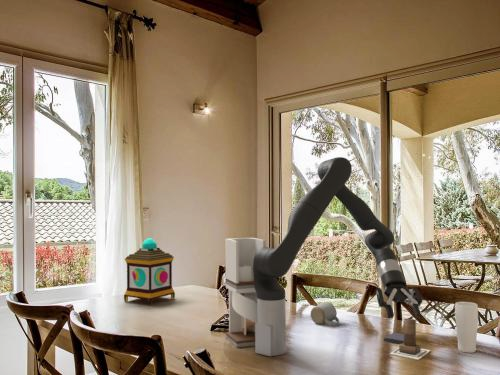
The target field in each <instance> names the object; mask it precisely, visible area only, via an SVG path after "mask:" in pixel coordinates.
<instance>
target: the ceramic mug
mask: <svg viewBox="0 0 500 375" xmlns="http://www.w3.org/2000/svg"><path fill="white" fill-rule="evenodd" d="M337 313H338V312H337V308H336V307H335V306H334V304H333V303H331V302H330V301H324V302H321V303H320V304H317V305H315V306H314V307H312V308H311V310H310V317H311V320H312V321H313V322H314V323H315V324H317V325H325V324H327V325H329V326H330V327H336V326H338V325H339V323H340V320H339V317H338V316H337ZM334 321H336V322H334Z"/></svg>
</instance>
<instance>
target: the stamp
mask: <svg viewBox="0 0 500 375" xmlns="http://www.w3.org/2000/svg"><path fill="white" fill-rule="evenodd" d="M416 324H417V321H416V319H414V318H404V319H403V334H404V343H402V344H398V348H399V352H401V353H406V354H411V355H416V354H418V353H419V352H420V351H421V349H422V348H421V347H422V346H421V343H417V336H416V335H417V327H416V326H417V325H416Z"/></svg>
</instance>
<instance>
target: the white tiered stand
mask: <svg viewBox="0 0 500 375" xmlns="http://www.w3.org/2000/svg"><path fill="white" fill-rule="evenodd" d="M224 242H225V243H224V244H225V249H224V250H225V288H226V289H228V331H227V332H226V331H225V339H226V340H228V341H229V342H230V343H231V344H232V345H233V346H234V347H235V348H244V347H251V346H252V347H253V346H255V324H256V323H257V293H256V290H255V287H254V274H253V260H254V256H255V254H256V252H257V251H258V250H259V249H260V248H263V247H266V239H262V238H256V237H239V238H238V237H236V238H225V241H224Z"/></svg>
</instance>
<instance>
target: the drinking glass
mask: <svg viewBox="0 0 500 375" xmlns="http://www.w3.org/2000/svg"><path fill="white" fill-rule="evenodd" d="M478 306H479V305H478V303H475V302H470V301H456V302H455V304H454V317H455V319H454V320H455V328H456V329H455V330H456V336H457V338H456V339H457V350H459V352H462V353H466V352H467V353H468V354H472V353H475V352H476V351H477V337H478V327H479V326H478V323H479V307H478ZM467 353H466V354H467Z"/></svg>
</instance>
